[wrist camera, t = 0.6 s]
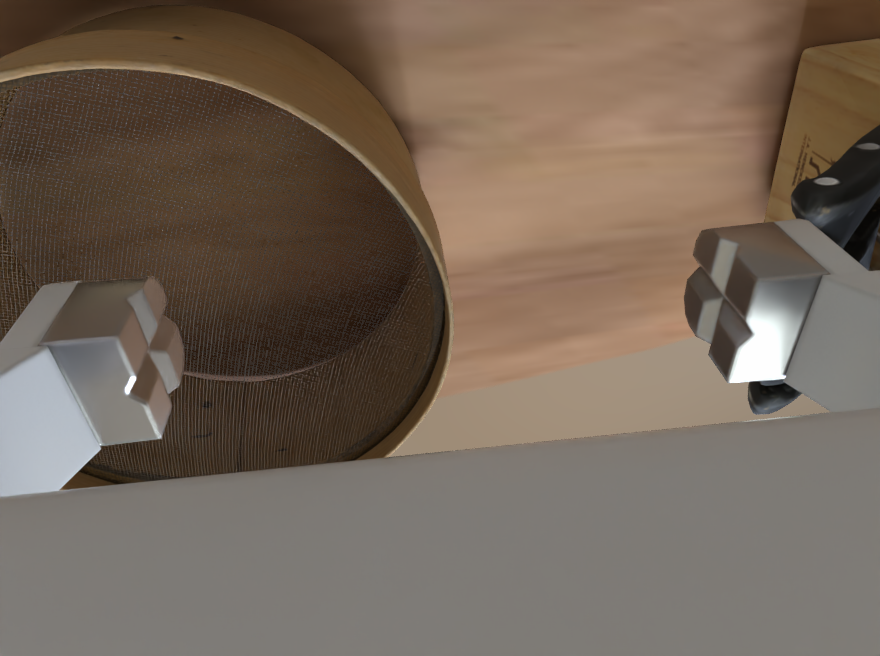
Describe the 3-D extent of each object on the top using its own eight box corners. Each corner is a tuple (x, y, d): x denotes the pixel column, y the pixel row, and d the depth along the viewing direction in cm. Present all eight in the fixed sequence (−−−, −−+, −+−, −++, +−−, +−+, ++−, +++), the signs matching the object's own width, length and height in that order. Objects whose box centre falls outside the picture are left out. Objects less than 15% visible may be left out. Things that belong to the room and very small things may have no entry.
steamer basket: (386, 411, 47) (391, 542, 38) (9, 361, 42) (-91, 501, 33) (485, 69, 34) (529, 146, 25) (-53, -71, 28) (-253, -38, 19)
